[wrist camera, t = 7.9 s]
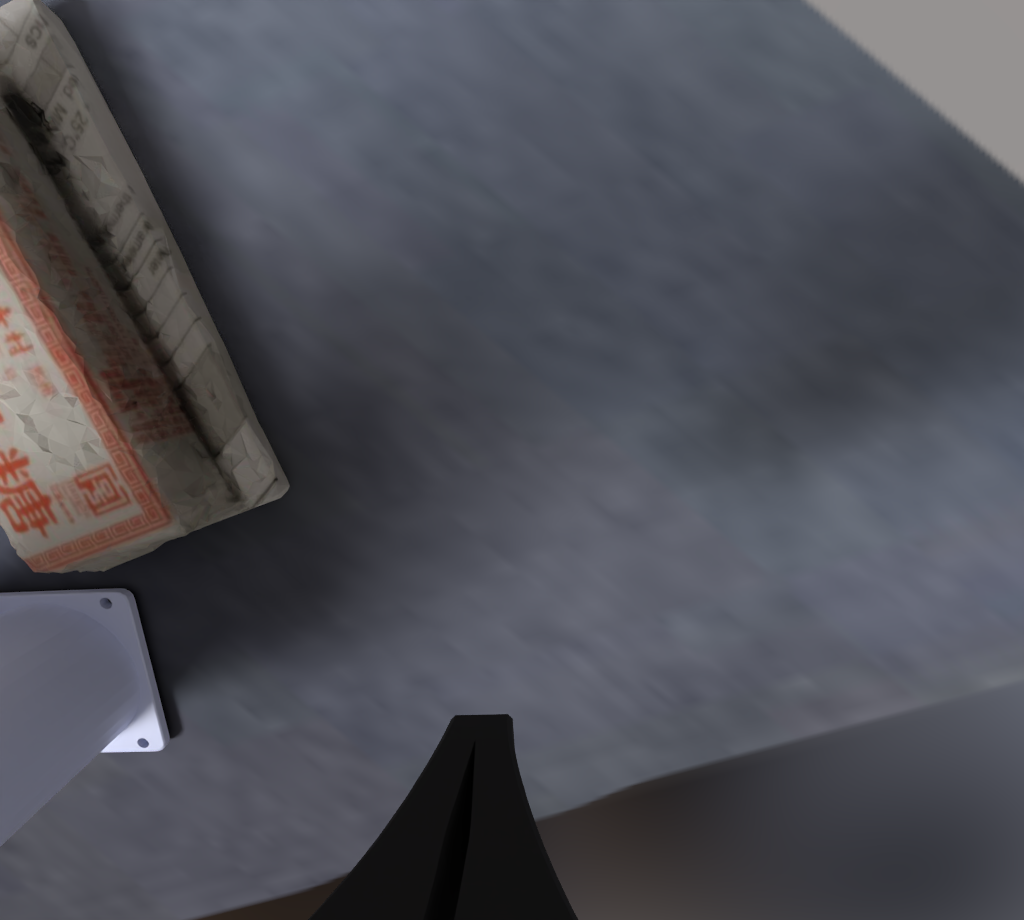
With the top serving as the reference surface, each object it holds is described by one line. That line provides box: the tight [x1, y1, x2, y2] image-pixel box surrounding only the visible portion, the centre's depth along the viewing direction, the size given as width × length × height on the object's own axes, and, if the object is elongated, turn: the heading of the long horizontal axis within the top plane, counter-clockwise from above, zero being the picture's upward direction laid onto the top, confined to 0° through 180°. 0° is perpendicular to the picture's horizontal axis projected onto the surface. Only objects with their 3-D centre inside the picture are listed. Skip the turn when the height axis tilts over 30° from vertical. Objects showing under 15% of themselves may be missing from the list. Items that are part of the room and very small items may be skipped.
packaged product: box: [0, 0, 290, 574], centre depth 17 cm, size 18×5×10 cm
